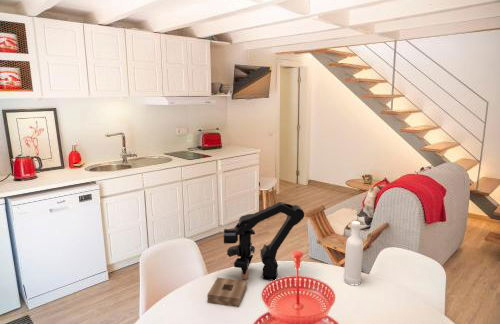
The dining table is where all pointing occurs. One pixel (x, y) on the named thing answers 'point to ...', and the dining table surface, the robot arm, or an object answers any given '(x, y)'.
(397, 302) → the dining table surface
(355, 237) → the bottle
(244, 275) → the peg
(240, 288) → the hole block
